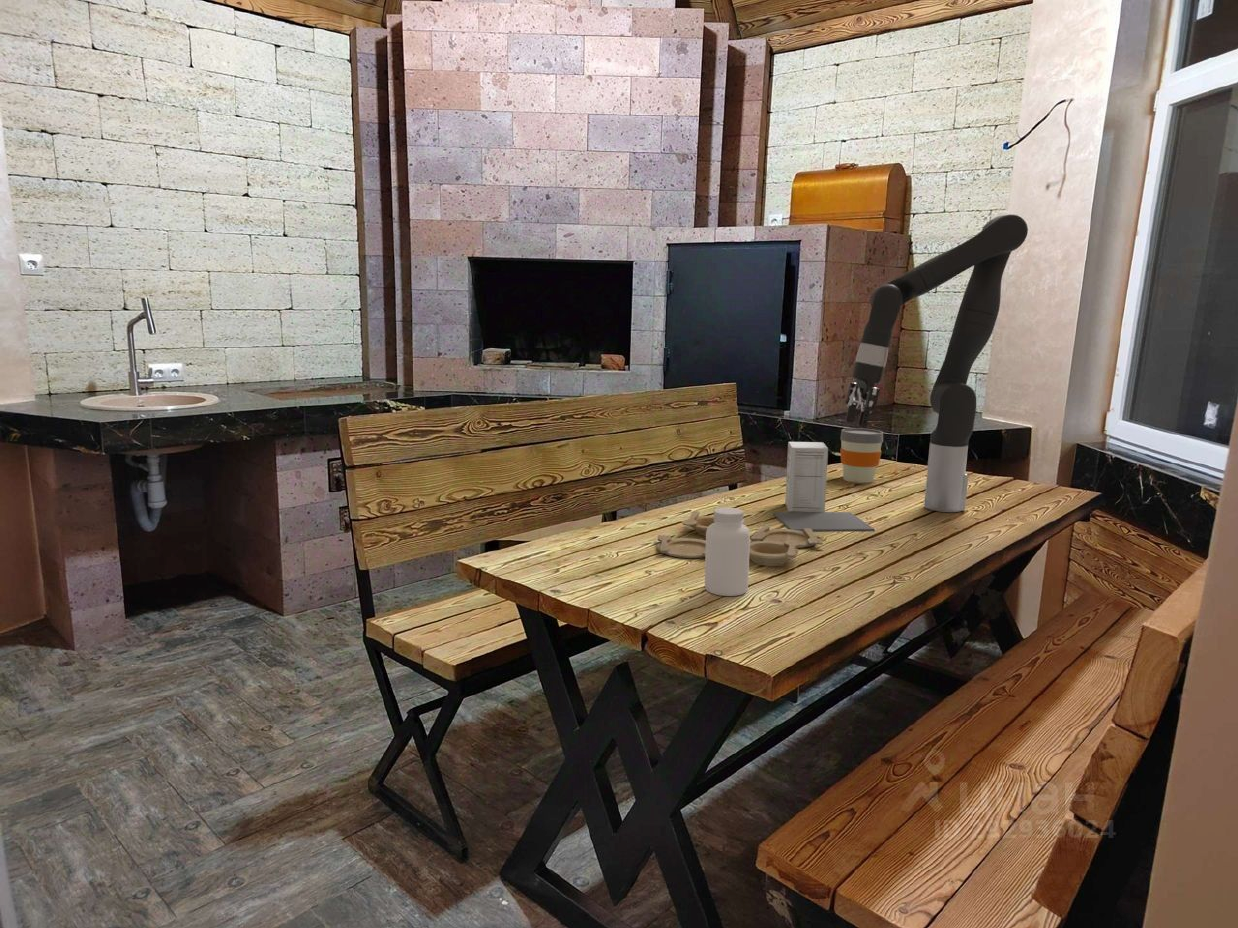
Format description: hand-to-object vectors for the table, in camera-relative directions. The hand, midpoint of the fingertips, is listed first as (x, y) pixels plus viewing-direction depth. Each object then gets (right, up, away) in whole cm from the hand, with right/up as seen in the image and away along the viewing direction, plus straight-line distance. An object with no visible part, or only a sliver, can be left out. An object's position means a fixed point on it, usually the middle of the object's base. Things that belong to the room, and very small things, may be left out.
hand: (855, 424), depth 213 cm
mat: (-12, -24, -14) cm, 31 cm away
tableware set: (-36, -29, -35) cm, 58 cm away
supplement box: (-14, -22, -1) cm, 26 cm away
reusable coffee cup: (+11, -15, +36) cm, 41 cm away
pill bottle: (-42, -34, -63) cm, 83 cm away
